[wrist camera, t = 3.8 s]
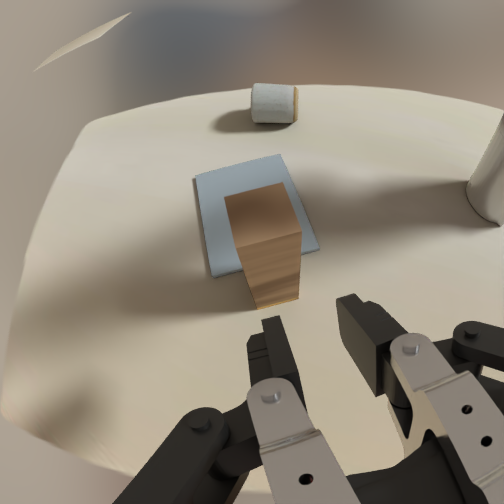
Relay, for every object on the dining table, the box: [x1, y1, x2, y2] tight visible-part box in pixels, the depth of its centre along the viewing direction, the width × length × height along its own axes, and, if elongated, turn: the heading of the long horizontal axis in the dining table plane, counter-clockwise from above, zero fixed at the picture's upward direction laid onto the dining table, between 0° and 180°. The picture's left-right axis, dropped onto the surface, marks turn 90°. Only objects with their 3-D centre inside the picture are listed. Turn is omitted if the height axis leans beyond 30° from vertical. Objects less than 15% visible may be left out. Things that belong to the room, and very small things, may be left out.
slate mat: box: [195, 154, 320, 278], centre depth 41 cm, size 18×14×1 cm
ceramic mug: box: [251, 83, 298, 123], centre depth 48 cm, size 11×8×8 cm
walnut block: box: [224, 182, 302, 310], centre depth 29 cm, size 5×5×15 cm
